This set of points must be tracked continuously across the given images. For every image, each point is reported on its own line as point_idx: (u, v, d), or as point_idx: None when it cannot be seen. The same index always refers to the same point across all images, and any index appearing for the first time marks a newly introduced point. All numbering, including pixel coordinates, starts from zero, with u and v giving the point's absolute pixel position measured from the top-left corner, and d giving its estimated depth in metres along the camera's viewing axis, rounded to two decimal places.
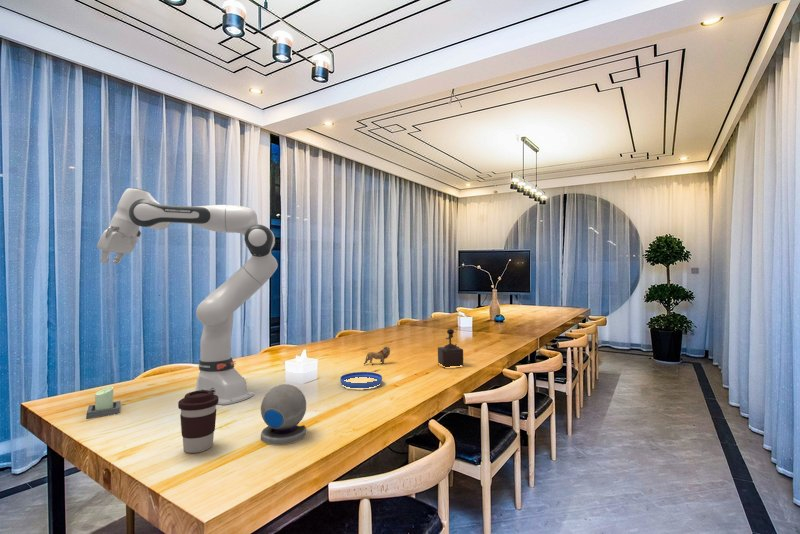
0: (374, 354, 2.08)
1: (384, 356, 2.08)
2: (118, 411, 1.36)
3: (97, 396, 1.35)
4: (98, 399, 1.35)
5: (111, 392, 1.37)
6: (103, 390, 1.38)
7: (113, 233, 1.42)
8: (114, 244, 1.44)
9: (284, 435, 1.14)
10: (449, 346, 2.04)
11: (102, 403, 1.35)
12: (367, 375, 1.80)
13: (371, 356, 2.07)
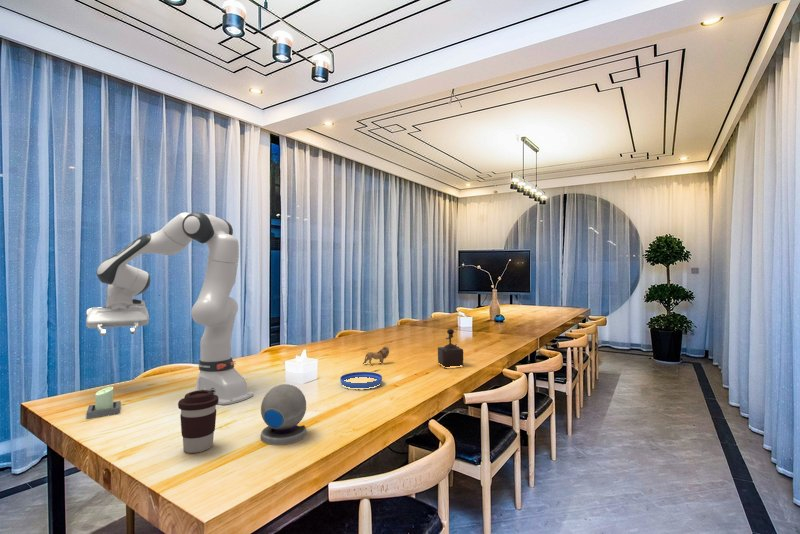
0: (373, 354, 2.07)
1: (383, 356, 2.08)
2: (118, 411, 1.36)
3: (97, 396, 1.35)
4: (98, 399, 1.35)
5: (111, 392, 1.37)
6: (103, 390, 1.38)
7: None
8: (97, 316, 1.52)
9: (284, 435, 1.14)
10: (449, 346, 2.04)
11: (102, 403, 1.35)
12: (367, 375, 1.80)
13: (370, 356, 2.07)
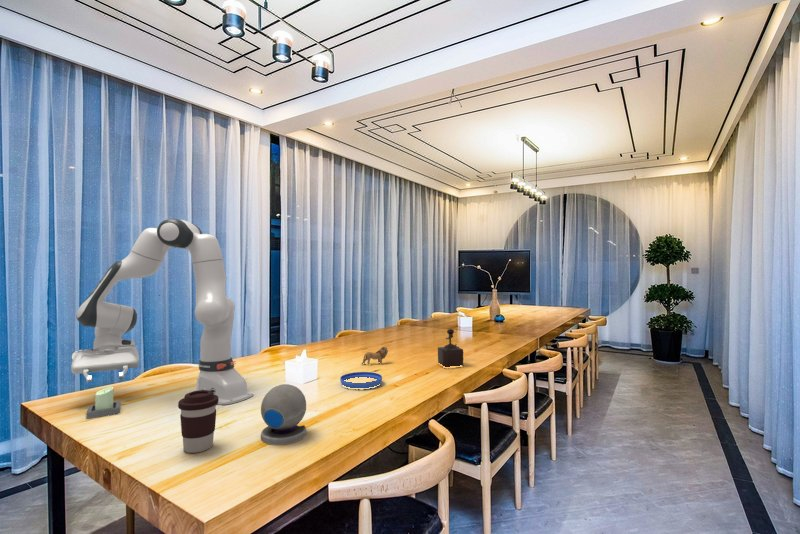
0: (372, 354, 2.07)
1: (382, 356, 2.08)
2: (118, 411, 1.36)
3: (97, 396, 1.35)
4: (98, 399, 1.35)
5: (111, 392, 1.37)
6: (103, 390, 1.38)
7: None
8: (83, 360, 1.43)
9: (284, 435, 1.14)
10: (449, 346, 2.04)
11: (102, 403, 1.35)
12: (367, 375, 1.80)
13: (369, 356, 2.07)
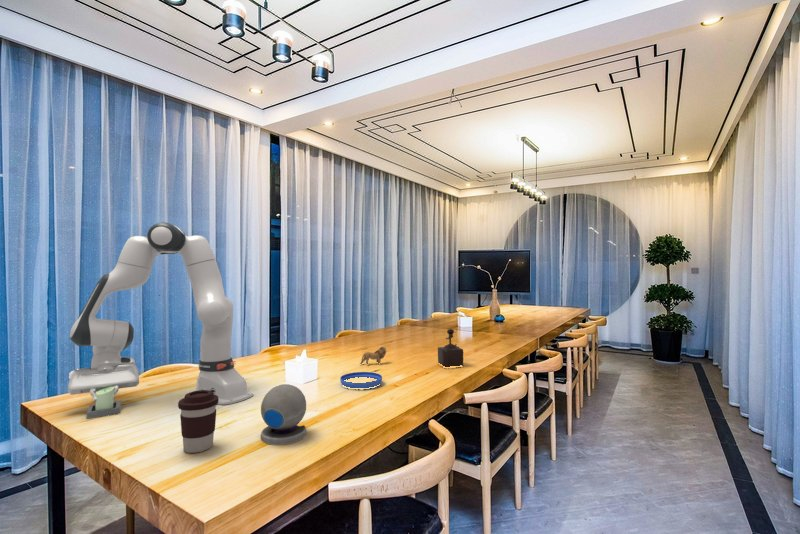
0: (370, 354, 2.07)
1: (380, 356, 2.08)
2: (118, 411, 1.36)
3: (98, 395, 1.35)
4: (99, 398, 1.35)
5: (112, 392, 1.37)
6: (104, 390, 1.38)
7: None
8: (81, 380, 1.36)
9: (284, 435, 1.14)
10: (449, 346, 2.04)
11: (102, 403, 1.35)
12: (367, 375, 1.80)
13: (367, 356, 2.06)
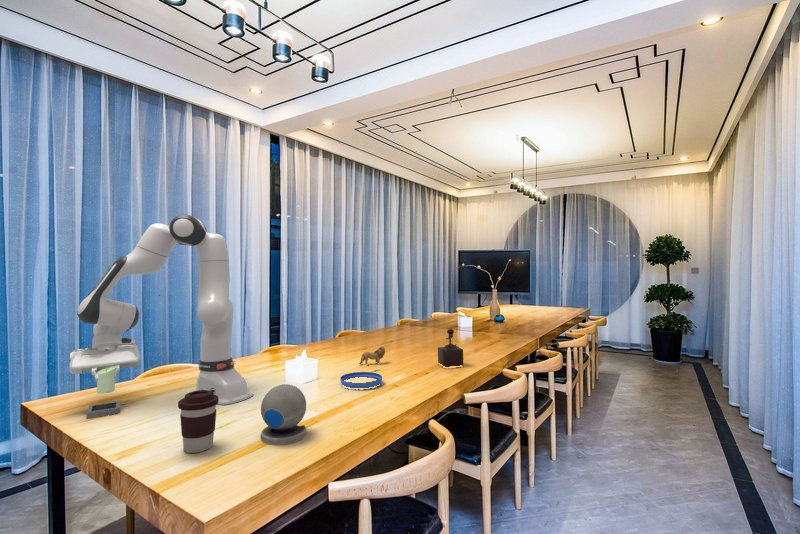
0: (369, 354, 2.07)
1: (379, 356, 2.08)
2: (118, 411, 1.36)
3: (99, 375, 1.35)
4: (100, 377, 1.35)
5: (113, 371, 1.37)
6: (105, 369, 1.39)
7: None
8: (82, 360, 1.37)
9: (284, 435, 1.14)
10: (449, 346, 2.04)
11: (104, 382, 1.35)
12: (367, 375, 1.80)
13: (366, 356, 2.06)
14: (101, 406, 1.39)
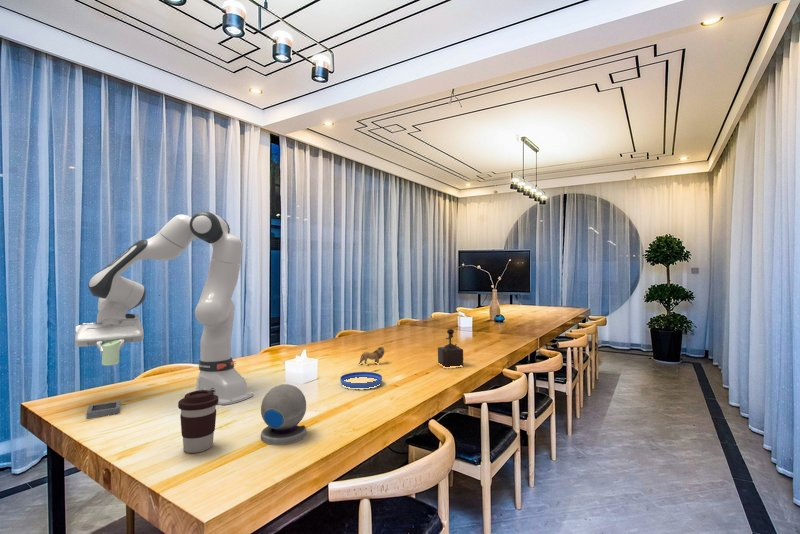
0: (369, 354, 2.07)
1: (379, 356, 2.08)
2: (118, 411, 1.36)
3: (104, 347, 1.39)
4: (105, 350, 1.39)
5: (118, 344, 1.42)
6: (110, 343, 1.43)
7: None
8: (88, 333, 1.41)
9: (284, 435, 1.14)
10: (449, 346, 2.04)
11: (109, 354, 1.39)
12: (367, 375, 1.80)
13: (366, 356, 2.06)
14: (101, 406, 1.39)
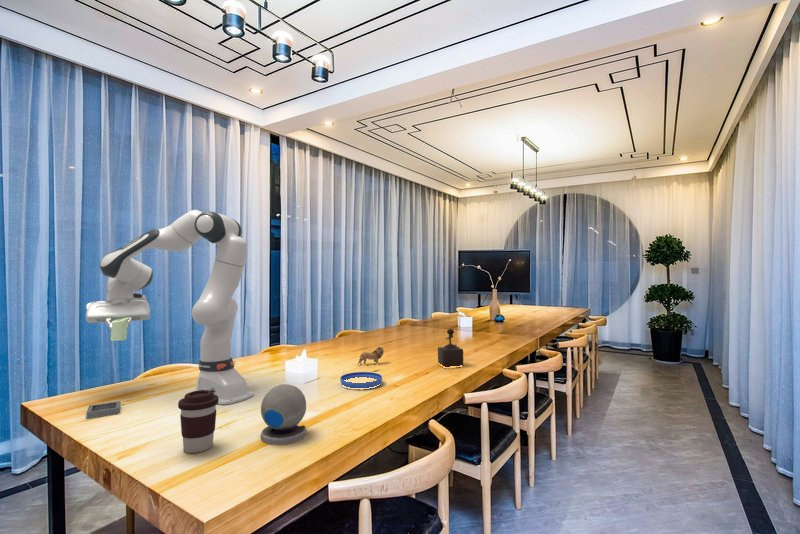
0: (368, 354, 2.07)
1: (378, 356, 2.08)
2: (118, 411, 1.36)
3: (113, 323, 1.47)
4: (114, 326, 1.47)
5: (126, 321, 1.50)
6: (118, 320, 1.51)
7: None
8: (98, 310, 1.49)
9: (284, 435, 1.14)
10: (449, 346, 2.04)
11: (117, 330, 1.47)
12: (367, 375, 1.80)
13: (365, 356, 2.06)
14: (101, 406, 1.39)
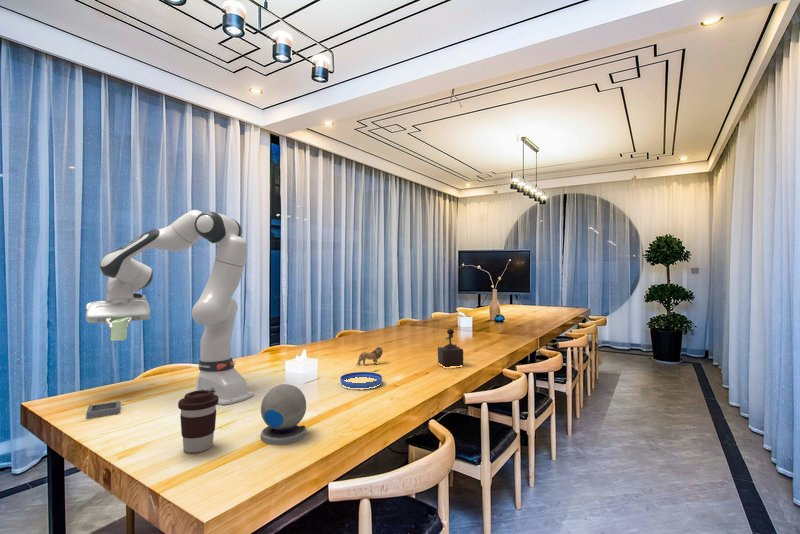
0: (367, 354, 2.07)
1: (377, 356, 2.08)
2: (118, 411, 1.36)
3: (113, 323, 1.47)
4: (114, 326, 1.47)
5: (126, 321, 1.50)
6: (118, 320, 1.51)
7: None
8: (98, 310, 1.49)
9: (284, 435, 1.14)
10: (449, 346, 2.04)
11: (117, 330, 1.47)
12: (367, 375, 1.80)
13: (364, 356, 2.06)
14: (101, 406, 1.39)
